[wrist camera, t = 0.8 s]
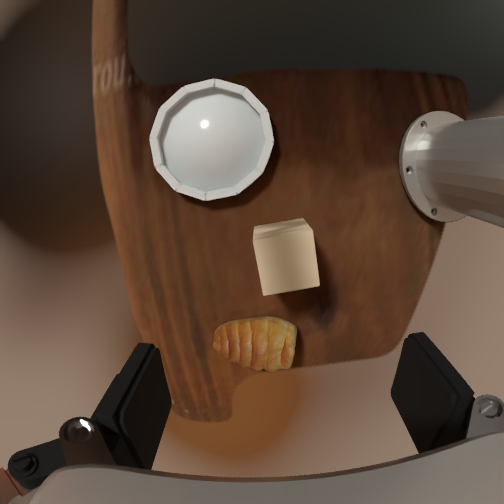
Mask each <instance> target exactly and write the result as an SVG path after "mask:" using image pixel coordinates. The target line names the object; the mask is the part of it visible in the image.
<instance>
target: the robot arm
mask: <svg viewBox="0 0 504 504" xmlns="http://www.w3.org/2000/svg"><path fill="white" fill-rule="evenodd" d="M421 125H422V127H421ZM399 167H400V175H401V179H402V183H403V186H404V188H405V191H406V193H407V195H408V197H409V199H410V200H411V202H412V203H413V204H414V206H415V207H416V208H417V209H418V210H419V211H420V212H422V213H423V214H424V215H426V216H427V217H430V218H432V219H434V220H437V221H441V222H453V221H457V220H459V219H462V218H464V217H465V216H466V215H468V216H471V217H474V218H477V219H480V220H483V221H485V222H488V223H491V224H494V225H497V226H500V227H503V228H504V116H502V117H494V118H484V119H477V120H470V121H464V120H463V119H461V118H460V117H458V116H456V115H454V114H452V113H449V112H444V111H435V112H430V113H426V114H424V115H422V116H420V117H418V118H417V119H416V120H415V121H414V122H413V123H412V124H411V125H410V126H409V128H408V129H407V131H406V133H405V135H404V137H403V140H402V143H401V148H400V155H399ZM406 168H407V169H408V171H407V172H406ZM431 210H432V211H431ZM473 395H474V392H473V390H472V389H471V388H470V386H469V385H468V384H467V383H466V381H465V380H464V379H463V378H462V377H461V375H460V374H459V373H458V372H457V370H456V369H455V368H454V367H453V366H452V364H451V363H450V362H449V361H448V360H447V358H446V357H445V356H444V355H443V354H442V353H441V351H440V350H439V349H438V348H437V347H436V346H435V345H434V343H433V342H432V341H431V340H430V339H429V338H428V337H427V336H426V334H425V333H424V332H419V333H412V334H409V336H408V338H405V340H404V343H403V347H402V352H401V356H400V360H399V363H398V368H397V371H396V374H395V378H394V381H393V385H392V388H391V397H392V399H393V401H394V403H395V405H396V407H397V409H398V411H399V413H400V415H401V417H402V419H403V421H404V423H405V425H406V427H407V430H408V432H409V434H410V436H411V438H412V440H413V442H414V444H415V446H416V448H417V450H418V453H419V454H416V455H413V456H409V457H405V458H401V459H398V460H393V461H389V462H385V463H380V464H376V465H371V466H366V467H360V468H355V469H349V470H343V471H336V472H328V473H320V474H311V475H299V476H285V477H255V478H254V477H253V478H252V477H251V478H246V477H244V478H243V477H242V478H241V477H213V476H199V475H188V474H178V473H169V472H161V471H154V470H151V469H152V465H153V462H154V459H155V456H156V453H157V449H158V446H159V443H160V440H161V437H162V434H163V430H164V428H165V424H166V421H167V418H168V415H169V412H170V409H171V397H170V393H169V389H168V385H167V381H166V377H165V372H164V368H163V364H162V359H161V355H160V350H159V348H155V346H154V344H150V343H138V344H137V346H136V347H135V349H134V350H133V352H132V354H131V356H130V357H129V359H128V360H127V362H126V363H125V365H124V367H123V368H122V370H121V372H120V373H119V374H117V375H116V376H115V378H114V380H113V381H112V383H111V385H110V386H109V388H108V389H107V391H106V393H105V394H104V396H103V398H102V400H101V401H100V403H99V404H98V406H97V408H96V410H95V411H94V413H93V415H92V416H91V418H87V417H75V418H72V419H69V420H67V421H66V422H65V423H64V424H63V425H62V426H61V427H60V430H59V438H58V439H55V440H52V441H50V442H46V443H43V444H40V445H37V446H34V447H31V448H28V449H24V450H21V451H18V452H16V453H15V454H14V455H12V456H11V458H10V460H9V462H8V469H6V470H4V469H3V468H1V469H0V504H504V403H503V401H501V399H499V398H497V397H495V396H492V395H482V396H479V397H477V398H476V399H475V398H474V397H473Z"/></svg>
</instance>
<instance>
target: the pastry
mask: <svg viewBox="0 0 504 504" xmlns="http://www.w3.org/2000/svg"><path fill="white" fill-rule="evenodd" d="M296 336H297V327H296V326H295V325H294V324H292V323H290V322H288V321H285V320H283V319H281V318H278V317H269V316H266V317H253V318H247V319H239V320H234V321H229V322H227V323H225V324H222V325H221V326H219V327H218V328H217V329H216V331H215V335H214V344H213V348H214V349H215V350H216V351H217V352H218V353H219V354H220V355H222V356H223V357H225V358H227V359H228V360H229V361H230V362H235V363H238V364H239V365H241V366H242V367H250V368H251V369H252V370H256V371H260V370H262V369H265V370H266V371H267V372H269V373H272V372H276V371H277V370H278V369H289V368H290V367H291V365H292V362H293V358H294V355H295V346H296Z"/></svg>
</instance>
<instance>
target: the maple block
mask: <svg viewBox="0 0 504 504" xmlns="http://www.w3.org/2000/svg"><path fill="white" fill-rule="evenodd" d="M253 244H254V249H255V254H256V259H257V265H258V270H259V275H260V280H261V286H262V291H263V296H265V295H271V294H277V293H283V292H288V291H294V290H300V289H306V288H311V287H317V286H320V283H319V275H318V266H317V259H316V251H315V243H314V236H313V230H312V229H311V228H310V226H309V225H308V224H307V223H306V221H305V220H304V219H303V218H301V219H295V220H289V221H283V222H277V223H272V224H266V225H260V226H255V227H254V235H253Z"/></svg>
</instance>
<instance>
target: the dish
mask: <svg viewBox="0 0 504 504" xmlns="http://www.w3.org/2000/svg"><path fill="white" fill-rule="evenodd" d="M184 88H185V89H184ZM184 88H183V87H182V88H181V89H180V90H179V91H177V92H176V93H175V94H174V95H173V96H172V97H171V98H170V99H169V100H168V101H166V102H165V103H164V104H163V105H162V106H161V107H160V108H161V109H159V111H158V114H157V116H156V119H155V122H154V125H153V128H152V131H151V134H150V137H151V138H149V139H150V145H151V150H152V155H153V160H154V166H155V167H157V168H156V170H157V171H158V172H159V173H160V174H161V175H162V177H163V178H164V179H165V180H166V181H167V182H168V183H169V185H170V186H171V187H172V188H173V189H174V190H176V192H179V193H183V194H186V195H189V196H192V197H195V198H198V199H201V200H204V201H205V200H206V201H208V200H213V199H219V198H224V197H228V196H233V195H237V194H239V193H240V192H241V191H242V190H244V189H245V188H247V187H248V186H249V185H251V184H252V183H253V182H254V181H255V180H256V179H257V178H258V177H259V176H260V175H261V174H262V172H264V169H265V167H266V165H267V163H268V160H269V158H270V154H271V151H272V147H273V144H274V143H273V142H274V138H273V132H272V126H271V122H270V118H269V113H268V111H267V109H266V108H265V107H264V106H263V105H262V103H261V102H260V101H259V100H258V99H257V98H256V97H255V96H254V95H253V94H252V93H251V92H250V91H249V90H248V89H247V88H245V87H244V86H240V85H237V84H233V83H230V82H226V81H222V80H219V79H211V80H206V81H202V82H198V83H194V84H190V85H186V86H184Z"/></svg>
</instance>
